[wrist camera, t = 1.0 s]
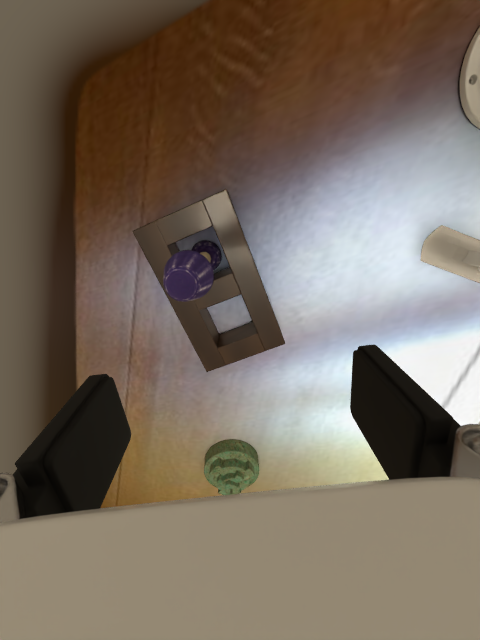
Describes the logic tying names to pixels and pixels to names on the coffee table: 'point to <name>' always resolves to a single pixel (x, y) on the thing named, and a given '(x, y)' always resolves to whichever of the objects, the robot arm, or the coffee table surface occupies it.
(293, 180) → the coffee table surface
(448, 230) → the heart sculpture
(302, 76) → the coffee table surface
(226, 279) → the frame
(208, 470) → the decorative artifact
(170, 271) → the toy lamp
